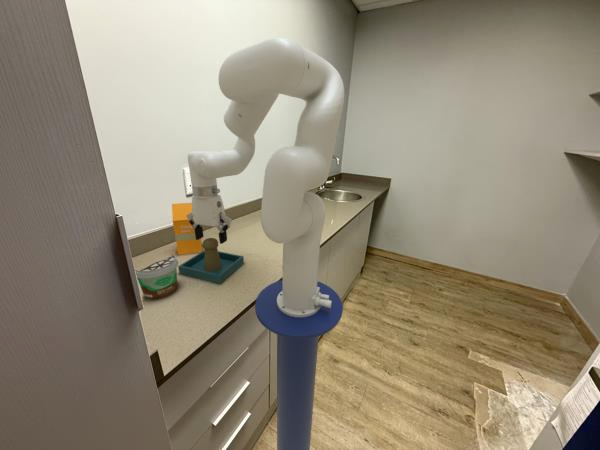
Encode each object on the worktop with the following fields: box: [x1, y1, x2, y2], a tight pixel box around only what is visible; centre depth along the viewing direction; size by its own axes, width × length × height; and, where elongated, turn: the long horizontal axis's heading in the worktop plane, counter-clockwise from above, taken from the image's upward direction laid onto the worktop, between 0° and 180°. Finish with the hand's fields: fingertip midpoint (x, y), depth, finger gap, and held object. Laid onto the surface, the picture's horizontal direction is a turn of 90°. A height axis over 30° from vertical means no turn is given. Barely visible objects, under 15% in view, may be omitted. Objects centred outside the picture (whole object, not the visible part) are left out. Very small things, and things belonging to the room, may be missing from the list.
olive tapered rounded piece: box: [202, 237, 222, 272], centre depth 85 cm, size 6×6×11 cm
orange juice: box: [171, 202, 203, 256], centre depth 97 cm, size 8×9×20 cm
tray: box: [177, 249, 245, 285], centre depth 87 cm, size 17×15×3 cm
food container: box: [134, 253, 179, 300], centre depth 72 cm, size 12×6×10 cm, turn 151°
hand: (211, 240), depth 83 cm, fingers open, 9 cm apart
